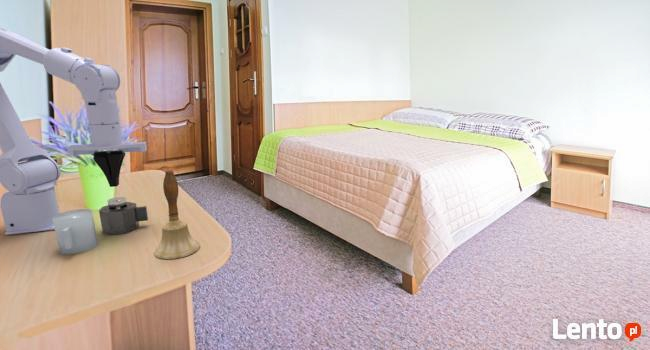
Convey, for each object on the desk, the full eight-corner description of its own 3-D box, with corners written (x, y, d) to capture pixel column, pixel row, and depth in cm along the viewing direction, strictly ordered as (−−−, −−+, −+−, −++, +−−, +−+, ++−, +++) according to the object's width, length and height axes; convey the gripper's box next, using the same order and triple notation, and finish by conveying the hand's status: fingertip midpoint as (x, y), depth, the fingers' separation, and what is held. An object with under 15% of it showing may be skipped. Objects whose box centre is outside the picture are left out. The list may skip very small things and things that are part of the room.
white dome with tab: (49, 261, 64) (42, 225, 63) (66, 243, 72) (59, 211, 70) (89, 255, 66) (83, 221, 65) (101, 238, 74) (96, 207, 72)
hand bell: (163, 242, 72) (153, 167, 68) (204, 240, 73) (197, 165, 69) (147, 261, 64) (135, 177, 60) (193, 258, 65) (184, 175, 61)
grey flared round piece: (110, 229, 77) (105, 202, 75) (114, 224, 80) (109, 197, 79) (128, 227, 78) (124, 200, 77) (131, 222, 81) (127, 196, 80)
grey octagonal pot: (100, 236, 75) (96, 213, 74) (108, 225, 81) (104, 204, 80) (146, 230, 78) (143, 208, 77) (150, 220, 84) (147, 199, 83)
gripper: (56, 126, 68) (69, 193, 71) (139, 124, 72) (147, 187, 75) (69, 123, 74) (80, 185, 78) (144, 121, 79) (152, 179, 82)
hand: (114, 185), depth 77 cm, fingers closed
